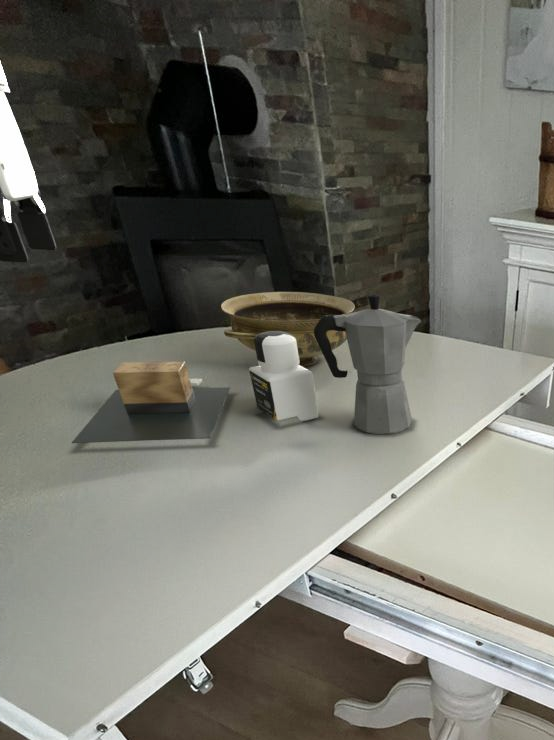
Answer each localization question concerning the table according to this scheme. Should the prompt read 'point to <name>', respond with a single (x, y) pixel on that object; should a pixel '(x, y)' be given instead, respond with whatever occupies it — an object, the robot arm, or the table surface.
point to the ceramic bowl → (286, 318)
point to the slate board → (155, 420)
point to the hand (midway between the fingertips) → (29, 255)
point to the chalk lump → (195, 382)
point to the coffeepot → (373, 364)
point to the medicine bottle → (282, 378)
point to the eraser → (154, 387)
